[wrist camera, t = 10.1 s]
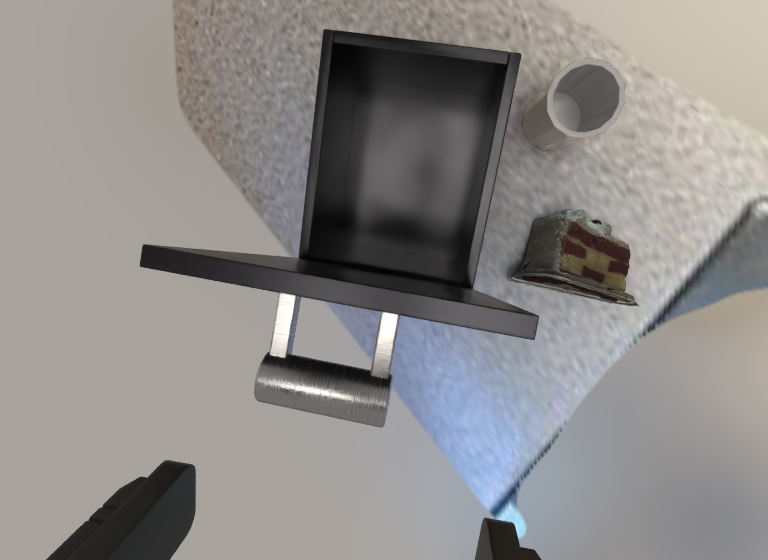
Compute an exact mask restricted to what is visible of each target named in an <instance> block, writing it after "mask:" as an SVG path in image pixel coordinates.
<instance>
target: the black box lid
mask: <svg viewBox="0 0 768 560" xmlns="http://www.w3.org/2000/svg"><path fill="white" fill-rule="evenodd" d="M140 267H144V268H150V269H155V270H160V271H166V272H171V273H176V274H182V275H187V276H193V277H199V278H204V279H209V280H214V281H220V282H225V283H230V284H236V285H241V286H247V287H251V288H257V289H262V290H268V291H273V292H278V293H279V299H278V304H277V311H276V317H275V323H274V329H273V335H272V341H271V347H270V352H268V353H267V354H266V355H265V356H264V358H263V360H262V362H261V364H260V366H259V369H258V372H257V375H256V380H255V388H254V390H255V391H254V394H255V398H256V400H257V401H259V402H263V403H268V404H272V405H277V406H282V407H287V408H291V409H296V410H301V411H305V412H310V413H315V414H319V415H324V416H329V417H333V418H338V419H343V420H348V421H352V422H357V423H362V424H366V425H372V426H376V427H383V426H384V424H385V420H386V415H387V410H388V404H389V399H390V393H391V388H392V382H393V375H391V374H390V369H391V364H392V358H393V353H394V347H395V341H396V336H397V330H398V324H399V319H400V315H402V316H407V317H413V318H418V319H423V320H429V321H434V322H439V323H445V324H450V325H456V326H461V327H466V328H472V329H477V330H482V331H488V332H493V333H499V334H504V335H509V336H515V337H520V338H525V339H531V340H534V339H535V335H536V330H537V325H538V319H539V316H538V315H536V314H533V313H531V312H528V311H526V310H523V309H521V308H518V307H516V306H513V305H511V304H508V303H506V302H503V301H501V300H499V299H496V298H494V297H491V296H489V295H486V294H484V293H481V292H479V291H476V290H474V289H470V288H464V287H458V286H453V285H447V284H441V283H436V282H430V281H424V280H419V279H413V278H408V277H402V276H396V275H391V274H385V273H379V272H374V271H368V270H362V269H357V268H351V267H346V266H340V265H334V264H329V263H323V262H317V261H312V260H306V259H300V258H292V257H281V256H270V255H258V254H247V253H236V252H224V251H213V250H202V249H191V248H179V247H168V246H158V245H145V244H144V245H143V247H142V254H141V260H140ZM301 297H305V298H311V299H316V300H321V301H327V302H332V303H337V304H343V305H348V306H354V307H359V308H364V309H370V310H375V311H380V312H381V316H380V322H379V328H378V333H377V339H376V345H375V351H374V356H373V362H372V368H371V370H367V369H362V368H356V367H352V366H347V365H341V364H337V363H332V362H327V361H321V360H316V359H311V358H307V357H302V356H297V355H292V348H293V342H294V336H295V330H296V324H297V318H298V312H299V306H300V300H301Z"/></svg>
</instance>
